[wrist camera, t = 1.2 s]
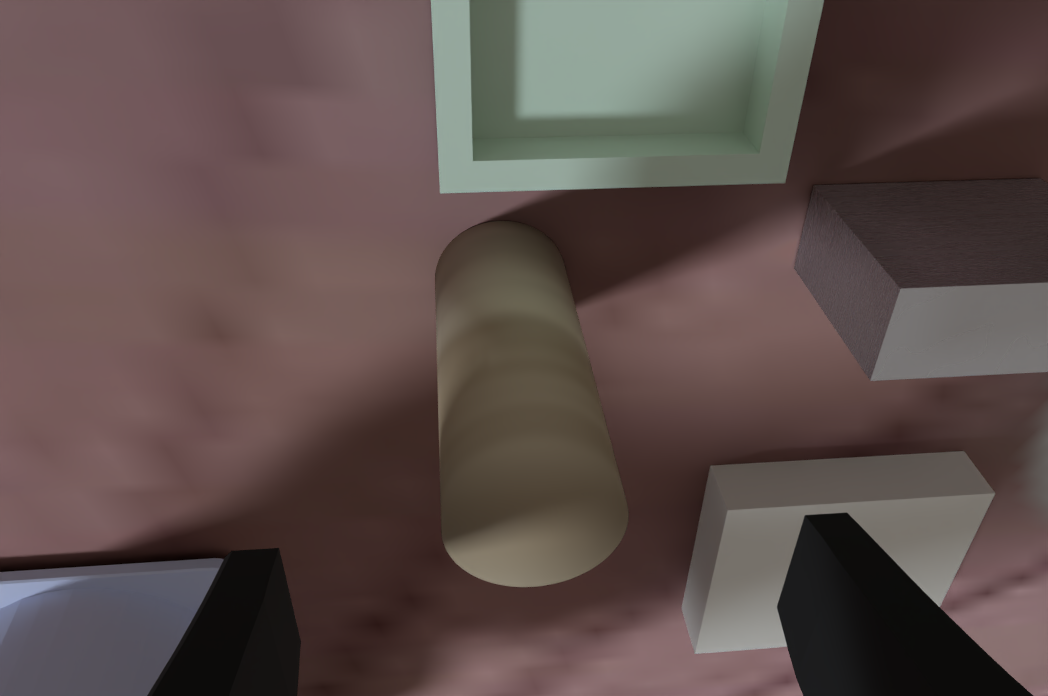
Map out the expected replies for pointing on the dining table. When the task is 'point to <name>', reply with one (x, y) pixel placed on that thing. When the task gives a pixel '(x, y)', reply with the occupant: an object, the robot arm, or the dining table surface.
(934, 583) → the tile
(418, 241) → the dining table surface
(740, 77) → the tray
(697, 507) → the dining table surface
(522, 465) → the dowel
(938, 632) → the robot arm
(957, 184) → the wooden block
